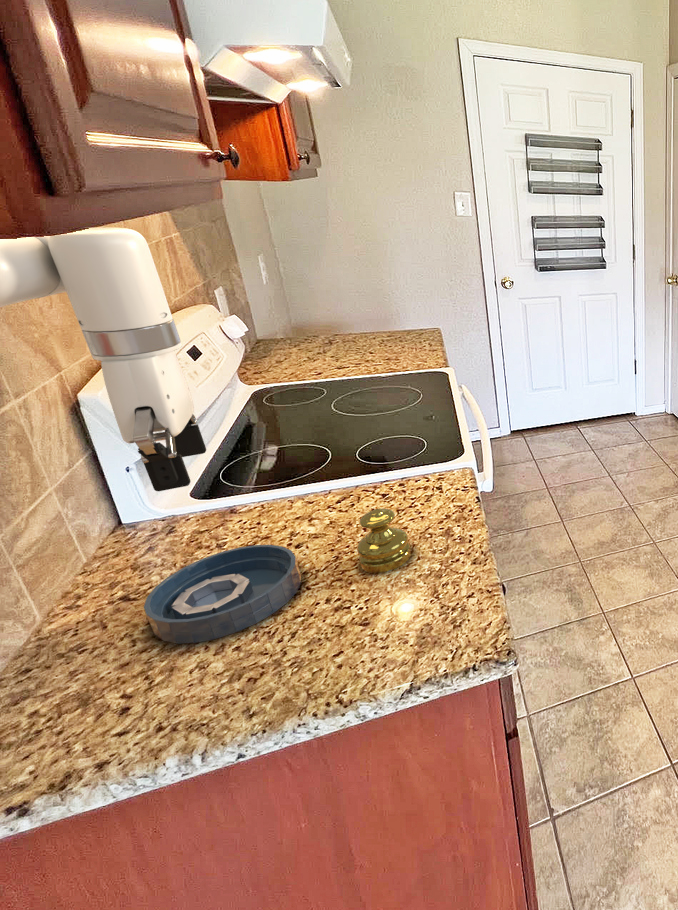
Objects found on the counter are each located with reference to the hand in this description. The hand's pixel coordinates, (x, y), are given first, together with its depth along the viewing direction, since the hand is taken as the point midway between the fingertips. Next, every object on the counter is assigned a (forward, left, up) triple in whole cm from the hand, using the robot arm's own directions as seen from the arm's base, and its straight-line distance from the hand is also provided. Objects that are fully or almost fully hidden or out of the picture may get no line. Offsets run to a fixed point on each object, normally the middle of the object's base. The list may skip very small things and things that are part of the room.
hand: (182, 470), depth 72 cm
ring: (-5, +7, -25) cm, 26 cm away
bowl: (-3, +7, -26) cm, 27 cm away
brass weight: (+17, +11, -26) cm, 33 cm away
